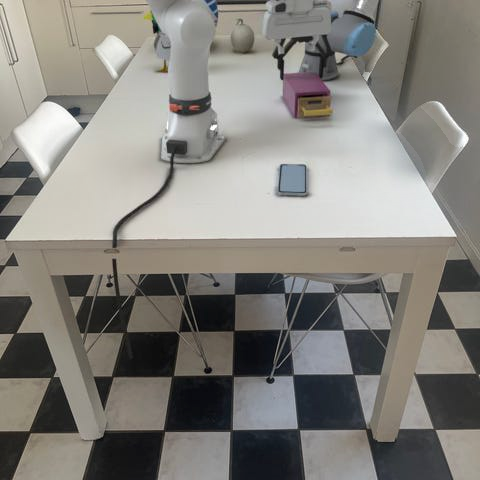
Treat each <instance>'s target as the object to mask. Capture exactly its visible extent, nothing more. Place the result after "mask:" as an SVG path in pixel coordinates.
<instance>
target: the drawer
mask: <svg viewBox="0 0 480 480" xmlns="http://www.w3.org/2000/svg"><path fill="white" fill-rule="evenodd" d="M331 100H332V99H331V95H330V96H325V94H322V95H306V96H298V115H297V117H296V118H297V119H304V118H318V117H319V118H320V117H330V115H333V113H334V109H333V108H331Z"/></svg>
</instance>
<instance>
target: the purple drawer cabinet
mask: <svg viewBox="0 0 480 480" xmlns="http://www.w3.org/2000/svg"><path fill="white" fill-rule="evenodd" d="M322 94H325V96H330V97H331V90H330V89H329V87H328V86H327V85H326V84H325V82H324V81H322V80H321V79H320V77H319V76H318V75H317V74H316V72H303V73H299V72H289V73H287V72H286V73H284V80H282V99H283V100H284V102H285V103H286V106H287V107H288V109H289V111H290V112H291V114H292V116H293V118H296V119H297V118H298V117H297V115H298V96H306V95H322Z"/></svg>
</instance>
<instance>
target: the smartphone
mask: <svg viewBox="0 0 480 480" xmlns="http://www.w3.org/2000/svg"><path fill="white" fill-rule="evenodd" d="M307 194H308V166H307V165H306V164H303V163H281V164H279V167H278V180H277V195H279V196H301V197H303V196H307Z"/></svg>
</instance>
